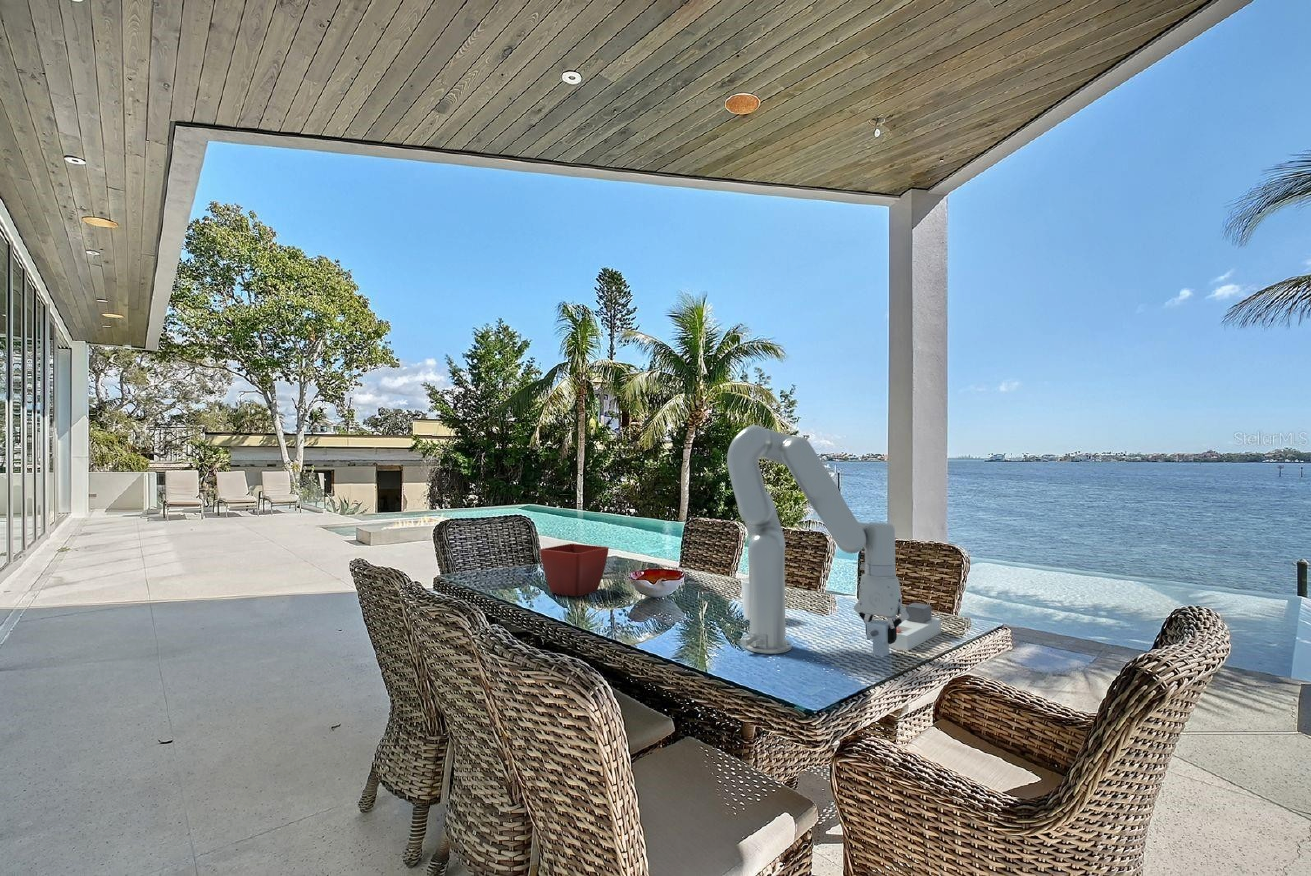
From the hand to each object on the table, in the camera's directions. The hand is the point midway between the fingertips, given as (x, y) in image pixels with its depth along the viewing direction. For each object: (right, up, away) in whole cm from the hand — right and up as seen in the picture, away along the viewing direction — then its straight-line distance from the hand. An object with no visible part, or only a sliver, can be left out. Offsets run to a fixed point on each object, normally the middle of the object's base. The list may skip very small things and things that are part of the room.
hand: (881, 640), depth 170 cm
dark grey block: (+17, -4, +18) cm, 25 cm away
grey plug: (0, -4, 0) cm, 4 cm away
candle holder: (-27, -5, +37) cm, 46 cm away
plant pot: (-89, -6, +77) cm, 118 cm away
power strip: (+13, -4, +14) cm, 19 cm away
